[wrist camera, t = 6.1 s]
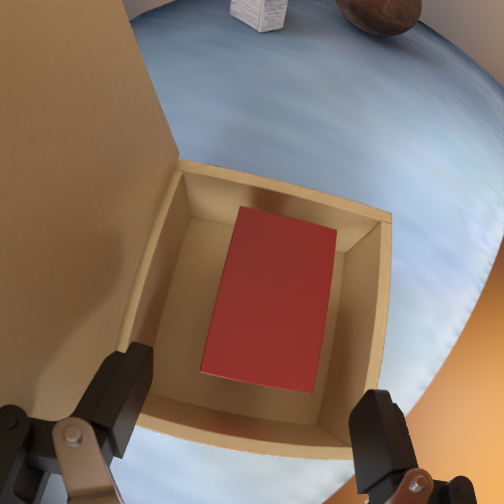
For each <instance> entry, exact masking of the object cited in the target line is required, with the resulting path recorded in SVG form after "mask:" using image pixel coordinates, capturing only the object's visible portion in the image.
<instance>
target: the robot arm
mask: <svg viewBox="0 0 504 504" xmlns="http://www.w3.org/2000/svg"><path fill="white" fill-rule="evenodd" d="M152 380H153V347H151V346H148V345H145V344H142V343H139V342H135V341H132V342H131V343H130V345H129V347H128V349H127V350H126V352H125V353H123V352H120V351H117V350H116V351H114V352H113V353H111V354H110V355H108V356H107V357H106V358H105V359H104V360H103V362H102V364H101V365H100V367H99V369H98V371H97V372H96V374H95V375H94V377H93V380H91V382H90V384H89V385H88V387H87V389H86V391H85V392H84V394H83V396H82V398H81V399H80V401H79V403H78V405H77V406H76V408H75V410H74V411H73V413H72V414H71V415H70V416H68V417H66V418H63V419H61V420H59V421H48V420H42V419H37V418H32V417H28V415H27V413H26V412H25V411H24V410H23V409H22V408H21V407H19V406H17V405H12V404H8V405H4V406H2V407H0V504H40V501H41V498H42V496H43V493H44V490H45V487H46V485H47V482H48V479H49V477H50V474H51V473H54V474H60V475H62V478H63V481H64V485H65V488H66V491H67V494H68V499H67V504H125V502H124V500H123V498H122V496H121V494H120V491H119V489H118V487H117V484H116V482H115V480H114V477H113V475H112V472H111V470H110V464H111V461H112V459H113V456H115V457H117V458H120V459H122V458H123V455H124V453H125V450H126V447H127V445H128V442H129V440H130V437H131V435H132V432H133V429H134V427H135V424H136V422H137V419H138V417H139V414H140V412H141V409H142V407H143V405H144V402H145V400H146V397H147V395H148V392H149V390H150V387H151V384H152ZM348 426H349V433H350V439H351V446H352V453H353V460H354V467H355V475H356V483H357V491H358V494H369V498H368V499H367V500H366V501H365V503H364V504H477V501H476V496H475V492H474V488H473V484H472V482H471V481H470V480H469V479H468V478H467V477H465V476H457V477H455V478H454V479H452V480H451V481H449V482H446V481H439V480H433V479H432V477H431V476H430V474H429V473H428V472H427V471H425V470H423V469H420V468H419V467H418V464H417V460H416V456H415V453H414V449H413V445H412V442H411V439H410V435H409V431H408V428H407V426H406V421H405V418H404V415H403V413H402V411H401V410H400V408H399V407H398V406H397V404H396V403H392V400H391V396H390V393H389V392H388V391H387V390H378V389H368V390H367V391H366V392H365V394H364V395H363V396H362V398H361V399H360V400H359V402H358V403H357V404H356V406H355V407H354V408H353V410H352V411H351V413H350V416H349V420H348Z"/></svg>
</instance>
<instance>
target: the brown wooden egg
mask: <svg viewBox="0 0 504 504" xmlns="http://www.w3.org/2000/svg"><path fill="white" fill-rule="evenodd" d="M336 3H337V5H338V8H339V9H340V11H341V13H342V14H343V15H344V16H345V18H346V19H347V20H348V21H349V22H351V23H352V24H353V25H354V26H356V27H358V28H359V29H361V30H363V31H365V32H368V33H371V34H374V35H379V36H394V35H399V34H402V33H404V32H406V31H408V30H409V29H411V28H412V27H413V26H414V25H415V24H416V23H417V21H418V19H419V17H420V14H421V10H422V2H421V0H336Z"/></svg>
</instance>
